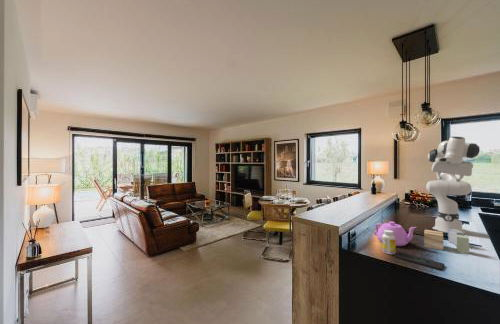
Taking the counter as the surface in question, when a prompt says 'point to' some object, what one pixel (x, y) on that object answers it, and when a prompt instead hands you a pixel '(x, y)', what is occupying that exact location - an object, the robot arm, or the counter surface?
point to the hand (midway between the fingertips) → (448, 180)
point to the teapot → (395, 233)
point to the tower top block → (433, 236)
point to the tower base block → (433, 245)
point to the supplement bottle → (388, 242)
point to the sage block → (462, 244)
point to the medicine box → (454, 235)
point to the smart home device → (420, 261)
